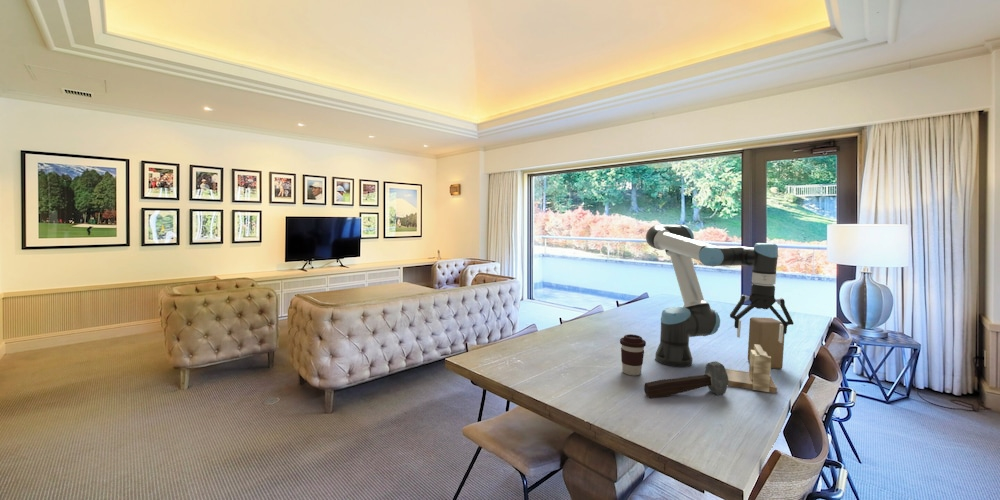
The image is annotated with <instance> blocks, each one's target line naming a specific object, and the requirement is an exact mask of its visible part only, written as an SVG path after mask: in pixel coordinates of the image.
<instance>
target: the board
mask: <svg viewBox="0 0 1000 500" xmlns="http://www.w3.org/2000/svg"><path fill="white" fill-rule="evenodd" d="M724 368H725V370H726V372H727V376H728V385H727V387H728V386H729V387H734V388H735V387H736V388H741V389H747V390H753V380H751V378H750V376H749V371H746V370H739V369H738V370H737V369H732V368H731V369H730V368H726V367H724ZM777 390H778V388H777V385H776V384H775V382H774V380H773V378H772V376H771V375H770V386H769V392H768V393H773V394H778V393H777Z"/></svg>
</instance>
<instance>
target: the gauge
mask: <svg viewBox="0 0 1000 500" xmlns="http://www.w3.org/2000/svg"><path fill="white" fill-rule="evenodd" d="M754 349H755V350H750V362H749V370H748V372H749V376H750V378H751V380H753V389H752V390H754V391H758V392H765V393H770V392H769V386H770V376H771V369H772V368H771V357H770V356H768V355H767V353H766V351H763V349H762V347H761V346H760V345H758V344H754Z"/></svg>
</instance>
